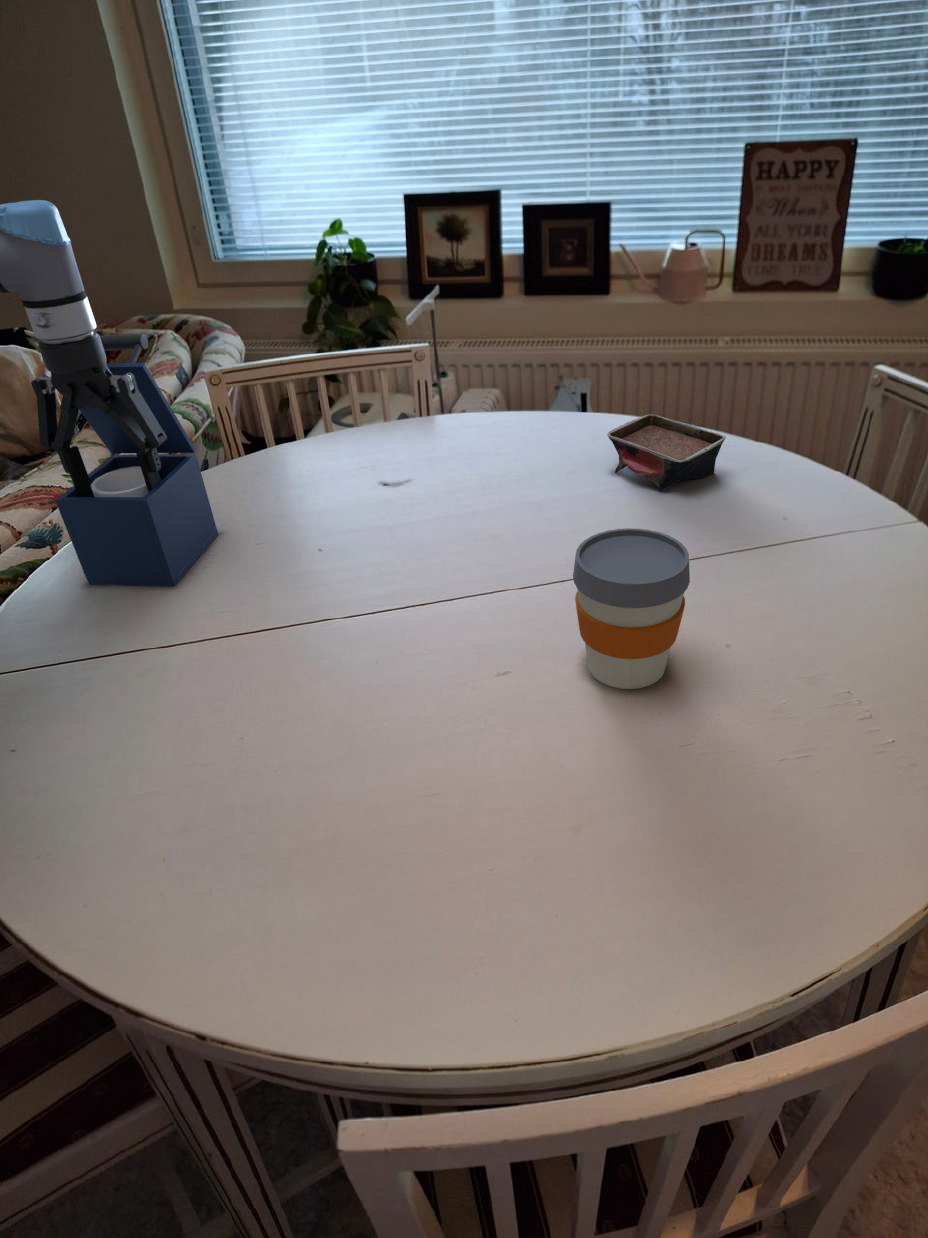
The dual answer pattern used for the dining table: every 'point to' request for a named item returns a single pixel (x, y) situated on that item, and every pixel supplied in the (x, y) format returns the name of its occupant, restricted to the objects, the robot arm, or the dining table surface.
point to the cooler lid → (151, 394)
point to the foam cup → (121, 483)
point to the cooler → (141, 525)
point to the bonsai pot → (665, 449)
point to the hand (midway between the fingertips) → (120, 492)
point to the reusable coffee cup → (630, 603)
